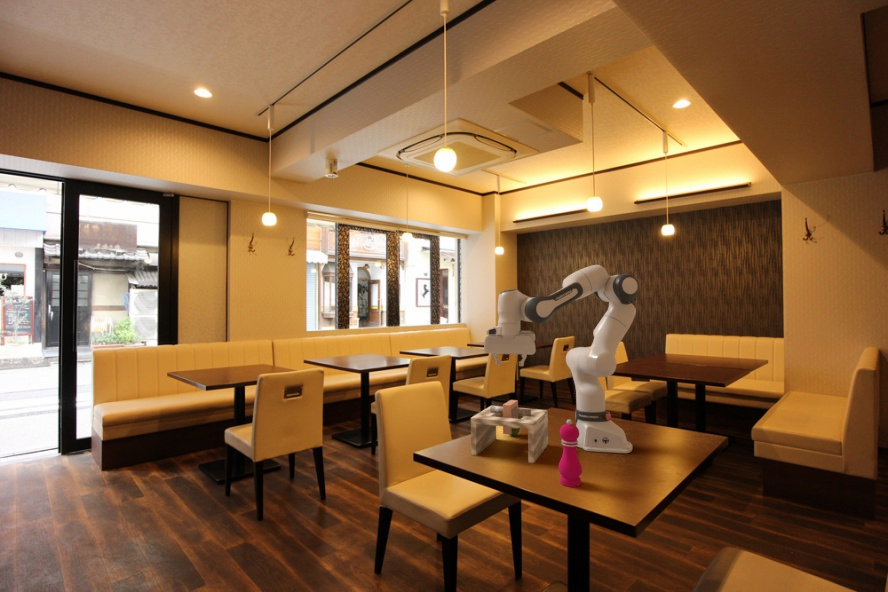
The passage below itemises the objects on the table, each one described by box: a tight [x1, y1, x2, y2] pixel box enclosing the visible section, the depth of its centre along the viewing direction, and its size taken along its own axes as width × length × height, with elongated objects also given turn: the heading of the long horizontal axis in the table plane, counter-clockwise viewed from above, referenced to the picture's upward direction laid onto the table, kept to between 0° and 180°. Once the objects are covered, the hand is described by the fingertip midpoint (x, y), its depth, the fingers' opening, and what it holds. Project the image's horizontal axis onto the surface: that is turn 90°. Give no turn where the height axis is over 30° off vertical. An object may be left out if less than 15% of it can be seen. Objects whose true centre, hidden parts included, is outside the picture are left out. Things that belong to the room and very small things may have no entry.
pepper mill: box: [557, 419, 583, 488], centre depth 144 cm, size 7×7×20 cm
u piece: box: [502, 399, 519, 436], centre depth 179 cm, size 3×10×11 cm, turn 155°
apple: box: [508, 415, 524, 437], centre depth 199 cm, size 9×8×12 cm
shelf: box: [470, 405, 549, 464], centre depth 179 cm, size 24×24×16 cm
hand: (509, 365), depth 179 cm, fingers open, 8 cm apart
